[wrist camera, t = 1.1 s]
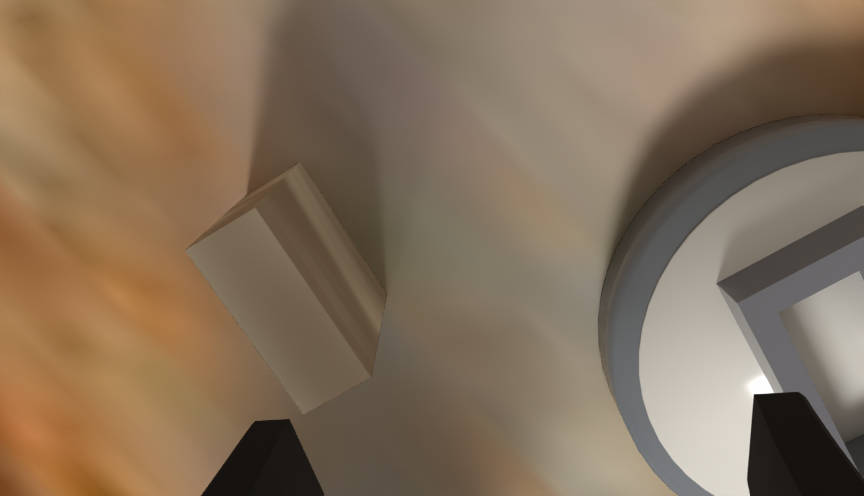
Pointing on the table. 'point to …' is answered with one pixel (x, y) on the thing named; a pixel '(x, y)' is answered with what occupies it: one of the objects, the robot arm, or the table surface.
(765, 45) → the table surface
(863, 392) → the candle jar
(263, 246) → the wooden plank block
